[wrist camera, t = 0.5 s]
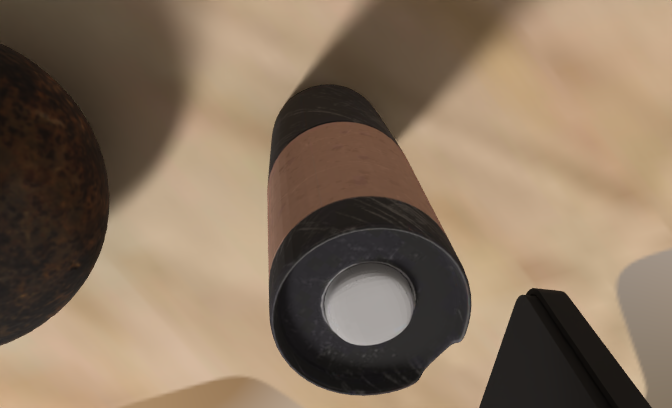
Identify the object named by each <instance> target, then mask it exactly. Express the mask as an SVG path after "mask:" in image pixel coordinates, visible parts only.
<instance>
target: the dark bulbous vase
mask: <svg viewBox="0 0 672 408" xmlns="http://www.w3.org/2000/svg"><path fill="white" fill-rule="evenodd" d="M108 214H109V189H108V179H107V173H106V169H105V164H104V160H103V156H102V154H101V151H100V147H99V144H98V142H97V140H96V138H95V135H94V133H93V131H92V129H91V127H90V125H89V123H88V122H87V120H86V118H85V117H84V115H83V113H82V112H81V110H80V109H79V107H78V106H77V104H76V103H75V102H74V101H73V99H72V98H71V97H70V96H69V94H68V93H67V92H66V91H65V90H64V89H63V88H62V87H61V86H60V85H59V84H58V83H57V82H56V81H55V80H54V79H53V78H52V77H51V76H50V75H48V74H47V73H46V72H45V71H43V70H42V69H41V68H39V67H38V66H37V65H36V64H34V63H33V62H31V61H30V60H29V59H27V58H26V57H24V56H22V55H21V54H20V53H18V52H16V51H14V50H12V49H10V48H8V47H6V46H4V45H2V44H0V345H3V344H6V343H9V342H11V341H13V340H15V339H17V338H19V337H21V336H23V335H25V334H27V333H29V332H31V331H33V330H34V329H35V328H37V327H39V326H40V325H42V324H43V323H45V322H46V321H47V320H48V319H50V318H51V317H52V316H54V315H55V314H56V313H57V312H58V311H60V310H61V309H62V308H63V307H64V306H65V305H66V304H67V303H68V302H69V301H70V300H71V299H72V297H73V296H74V295H75V294H76V293H77V291H78V290H79V289H80V287H81V286H82V285H83V284H84V282H85V280H86V279H87V278H88V276H89V274H90V272H91V271H92V269H93V267H94V265H95V263H96V261H97V258H98V256H99V254H100V251H101V249H102V246H103V242H104V239H105V234H106V230H107V222H108Z"/></svg>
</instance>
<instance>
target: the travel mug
mask: <svg viewBox="0 0 672 408" xmlns="http://www.w3.org/2000/svg"><path fill="white" fill-rule="evenodd" d="M267 197H268V256H269V313H270V325H271V330H272V334H273V338H274V340H275V343H276V346H277V348H278V350H279V351H280V353H281V355H282V357H283V358H284V359H285V361H286V362H287V363H288V364H289V366H290V367H291V368H292V369H293V370H295V371H296V372H297V373H298V374H299V375H300V376H302V377H303V378H304V379H306V380H307V381H309V382H311V383H313V384H315V385H316V386H319V387H321V388H324V389H326V390H329V391H333V392H337V393H341V394H348V395H362V396H365V395H378V394H384V393H390V392H394V391H398V390H401V389H404V388H406V387H409V386H411V385H413V384H414V383H416V382H417V381H418V380H419V378H420V377H421V375H422V373H423V371H424V370H425V369H426V368H427V367H428V366H429V364H430V363H431V362H433V361H434V360H435V359H436V358H437V357H438V356H439V355H440V354H441V353H442V352H443V351H444V350H446V349H447V348H448V347H449V346H450V345H452V344H454V343H458V342H461V341H462V339H463V338H464V336H465V334H466V331H467V327H468V324H469V319H470V313H471V292H470V287H469V283H468V279H467V277H466V274H465V271H464V269H463V266H462V264H461V262H460V261H459V259H458V257H457V255H456V253H455V251H454V249H453V247H452V245H451V243H450V241H449V239H448V237H447V236H446V234H445V232H444V230H443V228H442V226H441V224H440V222H439V220H438V218H437V216H436V214H435V212H434V210H433V208H432V207H431V205H430V203H429V201H428V199H427V197H426V195H425V193H424V191H423V189H422V187H421V185H420V183H419V181H418V179H417V178H416V176H415V174H414V172H413V170H412V168H411V166H410V164H409V162H408V160H407V158H406V157H405V155H404V153H403V152H402V150H401V148H400V147H399V145H398V144H397V142H396V141H395V139H394V138H393V136H392V135H391V133H390V131H389V130H388V128H387V127H386V125H385V124H384V122H383V121H382V119H381V118H380V116H379V115H378V113H377V112H376V110H375V109H374V108H373V107H372V105H371V104H370V103H369V102H368V101H367V100H366V99H365V98H364V97H363V96H361V95H360V94H359V93H357V92H355V91H353V90H351V89H348V88H346V87H342V86H337V85H320V86H315V87H312V88H308V89H306V90H304V91H302V92H300V93H298V94H297V95H295V96H294V97H293V98H291V99H290V100H289V101H288V102H287V103H286V104H285V106H284V107H283V108H282V110H281V111H280V113H279V115H278V116H277V119H276V121H275V124H274V129H273V133H272V142H271V154H270V165H269V177H268V190H267Z"/></svg>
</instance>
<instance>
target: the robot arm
mask: <svg viewBox="0 0 672 408" xmlns="http://www.w3.org/2000/svg"><path fill="white" fill-rule="evenodd" d="M479 408H651V406H650V405H649V403H648V402H647V401H646V399H645V398H644V397H643V395H642V394H641V393H640V391H639V390H638V389H637V387H636V386H635V385H634V383H633V382H632V381H631V379H630V378H629V377H628V375H627V374H626V373H625V371H624V370H623V369H622V367H621V366H620V365H619V363H618V362H617V361H616V359H615V358H614V357H613V355H612V354H611V353H610V351H609V350H608V349H607V347H606V346H605V345H604V343H603V342H602V341H601V339H600V338H599V337H598V335H597V334H596V333H595V331H594V330H593V329H592V327H591V326H590V325H589V323H588V322H587V321H586V319H585V318H584V317H583V315H582V314H581V313H580V311H579V310H578V309H577V307H576V306H575V305H574V303H573V302H572V301H571V299H570V298H569V297H568V295H567V294H566V293H565V292H562V291H555V290H546V289H536V288H532V289H530V290H529V291H528V292H527V294H526V295H521V296H519V297H518V299H517V301H516V303H515V306H514V309H513V311H512V314H511V317H510V320H509V323H508V326H507V329H506V332H505V335H504V338H503V340H502V343H501V346H500V349H499V352H498V355H497V358H496V361H495V364H494V367H493V369H492V372H491V375H490V378H489V381H488V384H487V387H486V390H485V393H484V395H483V398H482V401H481V404H480V407H479Z"/></svg>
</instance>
